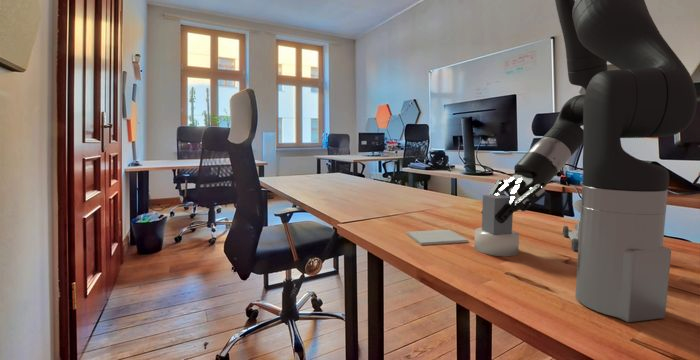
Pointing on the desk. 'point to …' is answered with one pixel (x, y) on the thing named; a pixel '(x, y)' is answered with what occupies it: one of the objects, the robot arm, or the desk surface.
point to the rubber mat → (436, 237)
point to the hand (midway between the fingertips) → (491, 217)
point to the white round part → (496, 243)
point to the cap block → (489, 210)
